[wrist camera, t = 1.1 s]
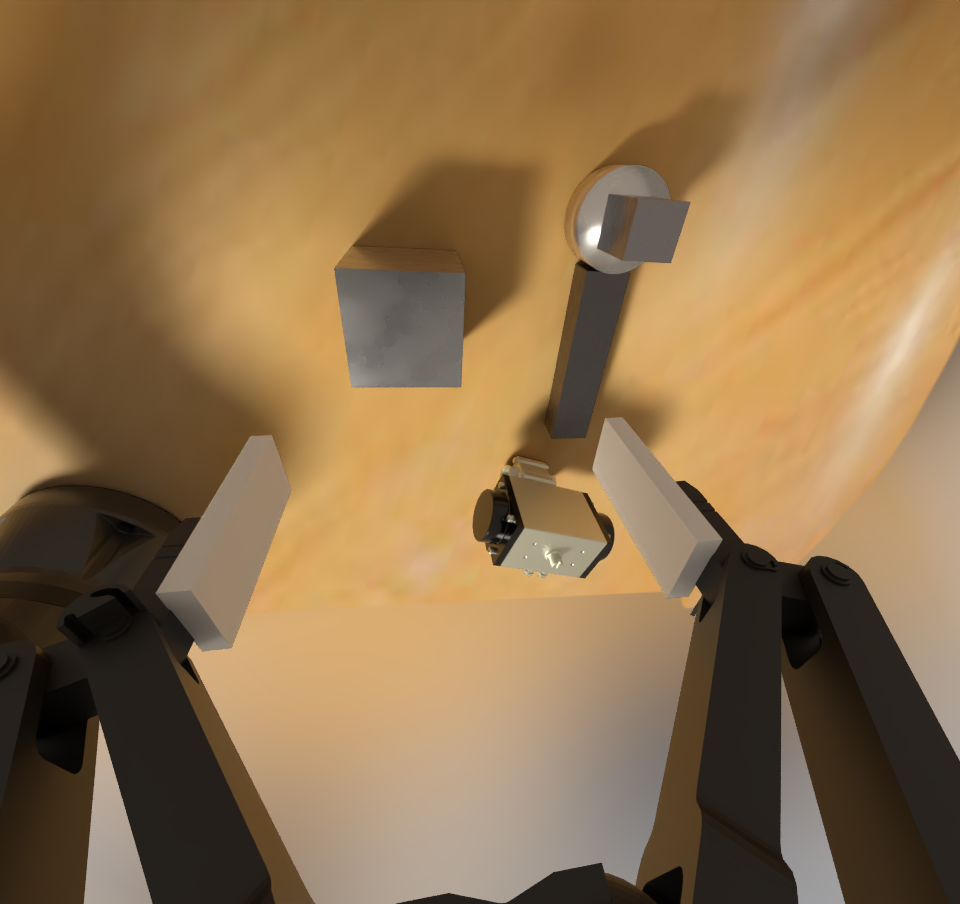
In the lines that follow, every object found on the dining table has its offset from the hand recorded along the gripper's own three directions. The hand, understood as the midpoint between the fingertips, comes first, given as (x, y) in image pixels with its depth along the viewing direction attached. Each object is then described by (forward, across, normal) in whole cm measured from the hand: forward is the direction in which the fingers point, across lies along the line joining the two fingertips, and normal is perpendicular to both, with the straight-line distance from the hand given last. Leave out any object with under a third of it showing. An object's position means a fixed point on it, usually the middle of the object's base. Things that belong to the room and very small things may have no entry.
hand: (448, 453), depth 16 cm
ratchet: (+17, +12, 0) cm, 21 cm away
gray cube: (+17, -2, +1) cm, 18 cm away
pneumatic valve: (+18, +8, -16) cm, 25 cm away
